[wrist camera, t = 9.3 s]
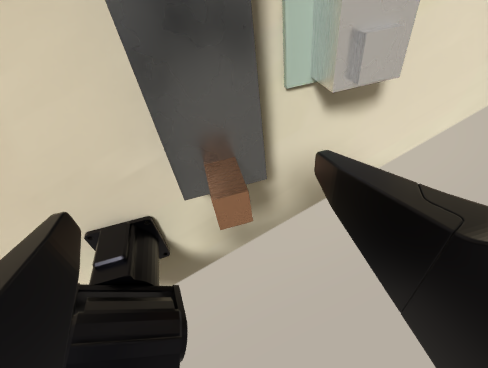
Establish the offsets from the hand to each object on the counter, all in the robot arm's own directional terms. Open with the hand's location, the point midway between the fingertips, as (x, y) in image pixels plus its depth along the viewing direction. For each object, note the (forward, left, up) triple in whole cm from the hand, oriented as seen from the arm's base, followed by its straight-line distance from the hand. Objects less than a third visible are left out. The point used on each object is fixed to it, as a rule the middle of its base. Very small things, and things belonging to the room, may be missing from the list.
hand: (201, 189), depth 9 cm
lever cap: (+3, -12, -12) cm, 17 cm away
